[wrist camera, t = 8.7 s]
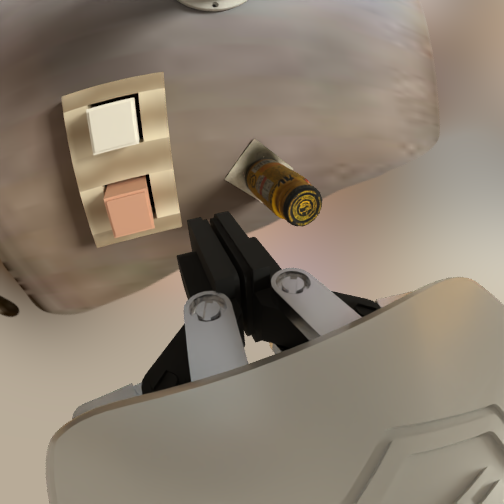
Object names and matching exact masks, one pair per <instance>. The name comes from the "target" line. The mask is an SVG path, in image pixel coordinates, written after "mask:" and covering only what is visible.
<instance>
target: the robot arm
mask: <svg viewBox="0 0 504 504" xmlns="http://www.w3.org/2000/svg"><path fill="white" fill-rule="evenodd" d="M178 1H179V2H180V3H182V4H184V5H186V6H188V7H191V8H194V9H197V10H203V11H225V10H228V9H232V8H235V7H237V6H240V5H241V4H243V3H245V2H246V1H247V0H178ZM212 5H214V6H215V7H213V6H212ZM187 223H188V230H189V236H190V241H191V247H192V252H189V253H185V254H181V255H177V260H178V265H179V269H180V273H181V277H182V281H183V285H184V288H185V292H186V295H187V298H188V301H187V302H186V304H185V306H184V320H185V324H184V325H183V326H182V328H181V329H180V330H179V332H178V333H177V334H176V336H175V337H174V338H173V339H172V341H171V342H170V343H169V345H168V346H167V347H166V349H165V350H164V351H163V352H162V354H161V355H160V356H159V358H158V359H157V360H156V362H155V363H154V364H153V365H152V367H151V368H150V369H149V371H148V372H147V374H146V375H145V377H144V379H143V380H142V382H141V383H139V384H137V385H135V386H133V384H129V385H127V386H125V387H122V388H120V389H118V390H115V391H113V392H111V393H109V394H106V395H104V396H101V397H99V398H97V399H94V400H92V401H89V402H87V403H85V404H82V405H81V406H79V407H78V408H77V409H76V411H75V412H74V414H73V418H72V420H71V421H69V422H68V423H66V424H65V425H64V426H62V427H61V428H60V429H59V430H58V431H57V432H56V433H55V434H54V436H53V437H52V438H51V440H50V443H49V445H48V449H47V456H46V481H47V492H48V497H49V503H50V504H504V305H503V304H502V303H501V302H500V301H499V300H498V299H497V298H495V297H494V296H493V295H492V294H491V293H490V292H489V291H487V290H486V289H485V288H484V287H482V286H481V285H480V284H478V283H477V282H475V281H474V280H472V279H469V278H464V277H453V278H446V279H442V280H439V281H436V282H433V283H430V284H428V285H426V286H424V287H421V288H420V289H417V290H415V291H413V292H407V293H403V294H399V295H394V296H390V297H385V298H381V299H376V301H375V302H373V301H371V300H368V299H365V298H360V297H355V296H351V295H347V294H342V293H338V292H333V291H330V290H329V289H328V288H326V287H325V286H324V285H323V284H322V283H320V282H319V281H318V280H317V279H316V278H315V277H313V276H312V275H311V274H309V273H308V272H306V271H304V270H301V269H297V268H286V269H283V270H282V269H281V268H280V267H279V265H278V264H277V263H276V262H275V260H274V259H273V258H272V257H271V256H270V254H269V253H268V252H267V251H266V249H265V248H264V247H263V246H262V244H261V243H260V242H259V241H258V240H257V238H255V237H252V238H249V237H248V236H247V235H246V234H245V232H244V231H243V230H242V228H241V227H240V226H239V224H238V223H237V222H236V221H235V219H234V218H233V217H232V215H231V214H230V213H229V212H228V211H227V212H222V213H217V214H215V215H214V218H211V219H210V224H209V222H208V221H207V219H206V220H202V218H201V217H199V218H195V219H190V220H187ZM210 225H211V226H210ZM244 331H245V333H246V335H247V336H250V335H252V337H253V339H254V340H255V342H258V341H261V340H263V341H266V342H269V343H270V347H271V349H272V350H273V351H274V353H275V355H272V356H270V357H267V358H264V359H261V360H259V361H256V362H253V363H250V364H248V361H247V357H246V354H245V350H244V347H245V340H244Z"/></svg>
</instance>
